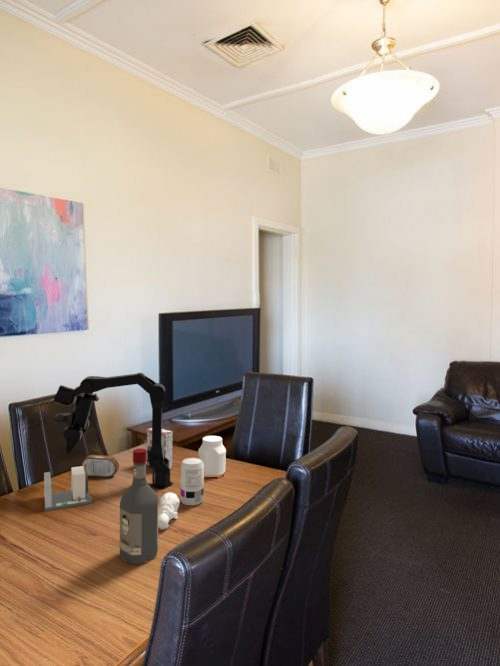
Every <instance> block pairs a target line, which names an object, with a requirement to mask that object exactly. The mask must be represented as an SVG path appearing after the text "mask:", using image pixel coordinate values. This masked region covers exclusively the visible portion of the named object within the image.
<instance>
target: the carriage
mask: <svg viewBox="0 0 500 666" xmlns="http://www.w3.org/2000/svg"><path fill="white" fill-rule="evenodd" d="M70 472H71V478H70V479H71V480H70V481H71V484H70V488H71V489H70V490H71V492H72V497H73V500H78V499H79V501H81V499H85V493H88V489H89V476H88V474H87V471H86V470H84V468H83V466H82V465H81V466H73V467H71V471H70Z"/></svg>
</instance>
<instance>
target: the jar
mask: <svg viewBox="0 0 500 666" xmlns="http://www.w3.org/2000/svg"><path fill="white" fill-rule="evenodd" d="M197 451H198V458H199V459H201V460H202V462H203V464H204V475H220V474H223V473H224V472H225V471H226V465H227V464H226V463H227V460H226V459H227V458H226V454H227V449H226V447H225V446H224V445H223V438H222V437H221V436H219V435H218V436H217V435H206V436H204V437H202V444H201V446H200V447H199V448H198V450H197Z"/></svg>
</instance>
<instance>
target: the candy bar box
mask: <svg viewBox="0 0 500 666" xmlns="http://www.w3.org/2000/svg"><path fill="white" fill-rule="evenodd" d="M173 432H174V431H172V430H169V429H164V428H162V438H161V441H162V446H163V451H164V456H165V457H166V458H167V459H168V460H169V470H171V469H173V449H174V448H173V446H174V445H173V440H174V439H173V437H174V435H173ZM148 446H152V427H150V428H147V429H146V450H147V449H148ZM147 457H148V454H147V453H146V458H147ZM146 467H150V466H149V461H148V462H147V461H146ZM150 468H151V467H150Z"/></svg>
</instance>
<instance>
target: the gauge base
mask: <svg viewBox="0 0 500 666" xmlns="http://www.w3.org/2000/svg"><path fill="white" fill-rule="evenodd" d="M51 475H52V474H51V471H47V472H44V473H43V484H44V486H43V487H44V489H43V490H44V491H43V492H44V494H43V496H44V499H43V500H44V511H45V512H47V511H54V510H60V509H65V508H71V507H77V506H84V505H88V504H93V499H92V497H91V494H90V489H89V488H88V493H85V499H81V501H79V499H78V500H73V497H72V492H71V489H70V490H65V491H57V492H53V491H52V476H51Z"/></svg>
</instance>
